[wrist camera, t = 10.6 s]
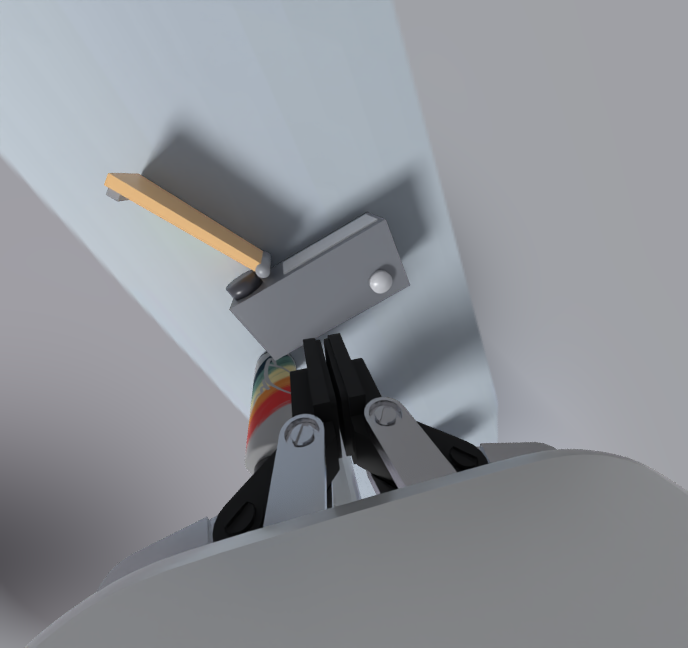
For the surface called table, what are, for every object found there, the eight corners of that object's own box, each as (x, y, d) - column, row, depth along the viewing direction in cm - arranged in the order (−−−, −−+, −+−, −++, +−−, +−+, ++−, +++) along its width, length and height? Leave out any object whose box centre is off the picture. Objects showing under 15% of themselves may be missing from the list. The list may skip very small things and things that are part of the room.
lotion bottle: (287, 344, 36) (296, 489, 19) (300, 372, 39) (318, 519, 22) (248, 357, 36) (223, 517, 19) (265, 385, 39) (256, 543, 22)
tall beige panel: (273, 255, 30) (272, 269, 25) (264, 269, 30) (262, 285, 26) (139, 171, 23) (107, 170, 19) (131, 191, 24) (98, 194, 20)
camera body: (275, 334, 35) (275, 364, 29) (229, 278, 30) (218, 302, 24) (390, 269, 34) (413, 287, 28) (362, 200, 29) (383, 206, 23)
